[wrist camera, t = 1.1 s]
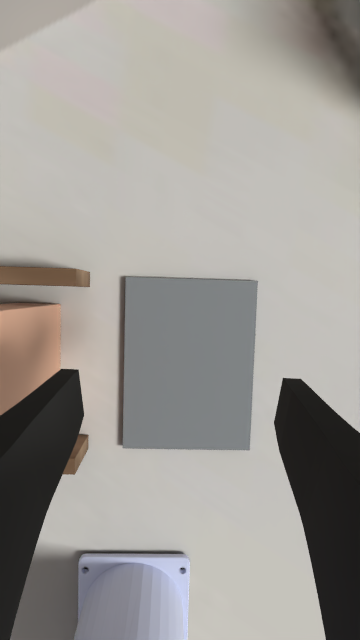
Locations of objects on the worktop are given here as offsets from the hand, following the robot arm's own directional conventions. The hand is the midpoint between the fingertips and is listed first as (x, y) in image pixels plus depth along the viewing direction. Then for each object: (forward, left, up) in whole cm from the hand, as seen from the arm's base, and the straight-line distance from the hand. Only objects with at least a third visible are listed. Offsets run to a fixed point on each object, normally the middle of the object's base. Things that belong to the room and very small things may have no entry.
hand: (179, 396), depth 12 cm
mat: (-1, -1, -12) cm, 12 cm away
